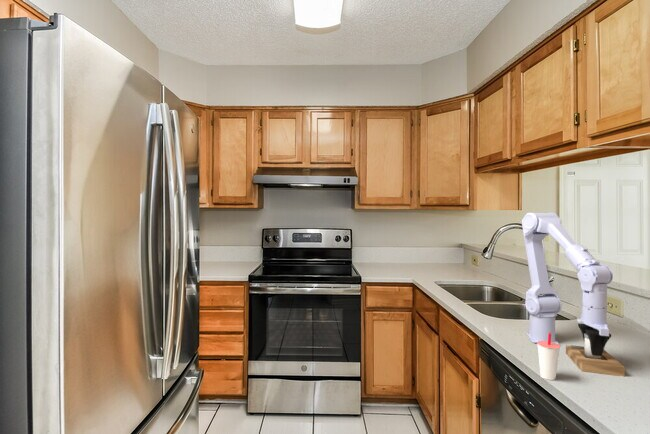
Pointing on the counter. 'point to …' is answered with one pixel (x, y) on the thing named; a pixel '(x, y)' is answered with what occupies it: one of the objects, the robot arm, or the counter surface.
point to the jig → (595, 362)
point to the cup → (548, 358)
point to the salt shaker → (588, 349)
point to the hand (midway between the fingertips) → (593, 352)
